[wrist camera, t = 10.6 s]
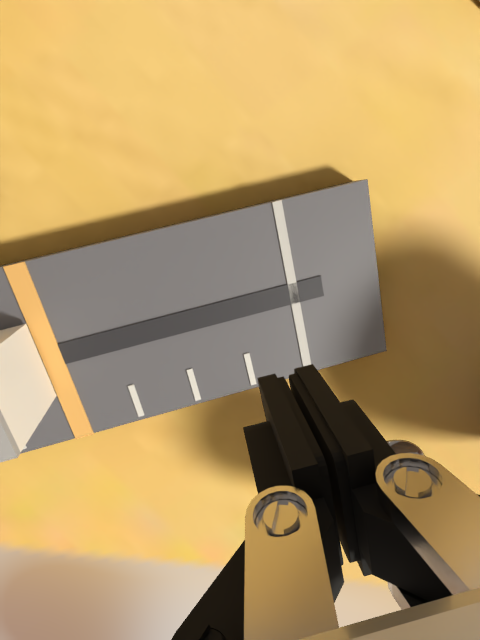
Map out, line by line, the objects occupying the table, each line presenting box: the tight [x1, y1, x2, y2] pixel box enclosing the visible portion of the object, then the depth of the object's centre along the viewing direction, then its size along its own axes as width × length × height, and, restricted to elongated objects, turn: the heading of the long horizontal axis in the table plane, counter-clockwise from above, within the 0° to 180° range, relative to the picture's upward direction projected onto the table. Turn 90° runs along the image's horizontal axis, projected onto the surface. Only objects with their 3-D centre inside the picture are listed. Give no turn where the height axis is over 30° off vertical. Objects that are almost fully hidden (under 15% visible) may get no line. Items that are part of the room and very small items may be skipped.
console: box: [0, 179, 387, 454], centre depth 26 cm, size 12×30×2 cm, turn 103°
